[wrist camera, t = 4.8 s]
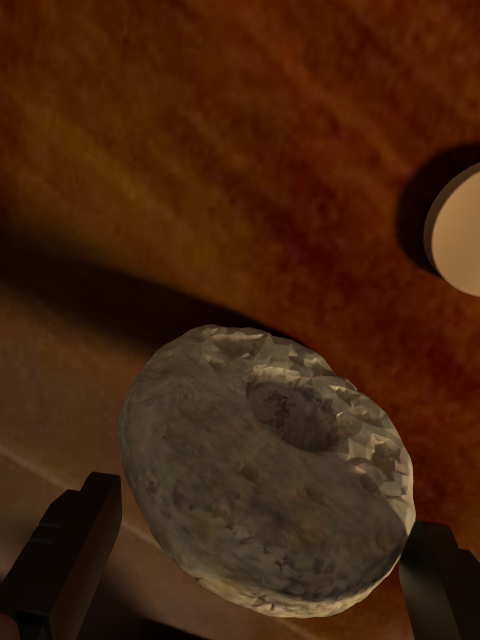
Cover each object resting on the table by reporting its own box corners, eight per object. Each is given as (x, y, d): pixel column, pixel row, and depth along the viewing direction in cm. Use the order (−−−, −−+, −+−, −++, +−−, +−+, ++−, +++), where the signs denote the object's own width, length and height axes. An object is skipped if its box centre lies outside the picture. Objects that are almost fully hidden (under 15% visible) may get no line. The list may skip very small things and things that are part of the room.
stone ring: (395, 385, 18) (496, 636, 9) (349, 437, 20) (399, 696, 11) (190, 277, 17) (85, 450, 8) (158, 342, 19) (40, 546, 10)
